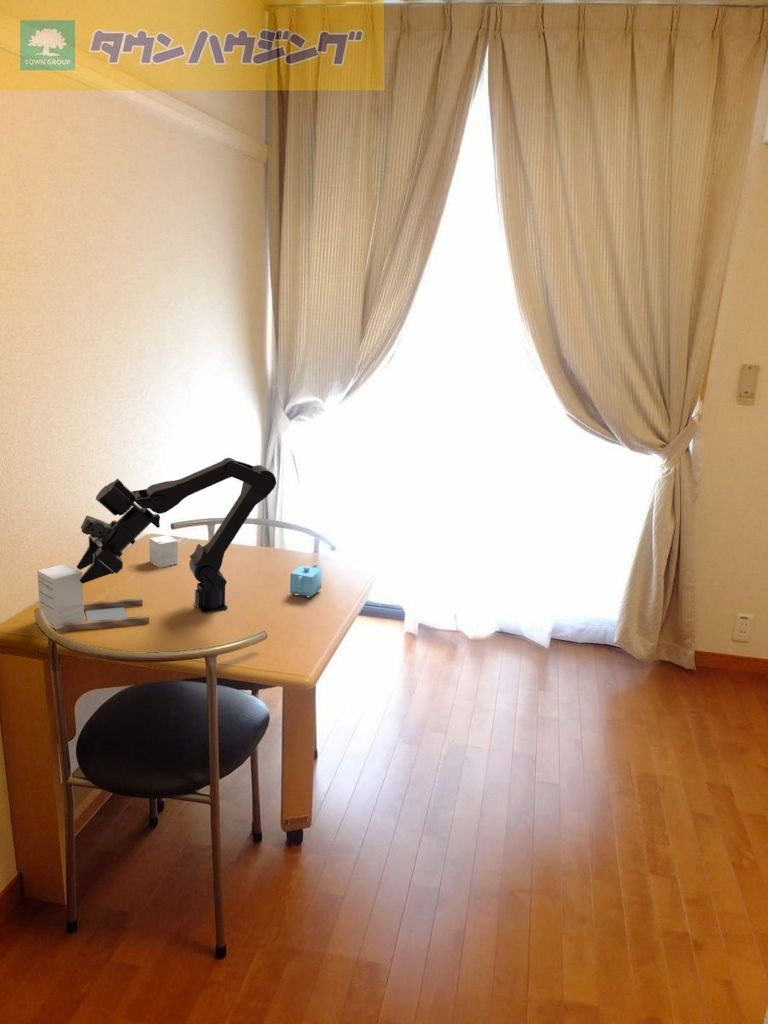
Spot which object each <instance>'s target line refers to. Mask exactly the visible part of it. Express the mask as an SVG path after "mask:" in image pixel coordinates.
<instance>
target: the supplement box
mask: <svg viewBox="0 0 768 1024" xmlns="http://www.w3.org/2000/svg"><path fill="white" fill-rule="evenodd" d="M36 572H37V573H36V574H37V586H38V587H37V589H38V591H37V592H38V606H39V608H41V609H42V611H43V613H44V616H45V617H46V619H47V621H48V622H49V623H50V624H51V625H52V626H53V627H54V628H55V629H54V628H53V629H54V630H56V631H57V630H60V629H63V624H65V623H75V622H85V613H84V612H85V611H84V607H83V603H84V588H83V587H84V585H83V584H84V583H81V582H80V579H81V577H82V576H83V571H81V570H79V569H78V568H75V567H74V566H71V565H69V564H67V563H63V564H59V565H55V566H52V567H51V566H50V567H48V568H43V569H39V570H37V571H36ZM39 608H38V609H39Z"/></svg>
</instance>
